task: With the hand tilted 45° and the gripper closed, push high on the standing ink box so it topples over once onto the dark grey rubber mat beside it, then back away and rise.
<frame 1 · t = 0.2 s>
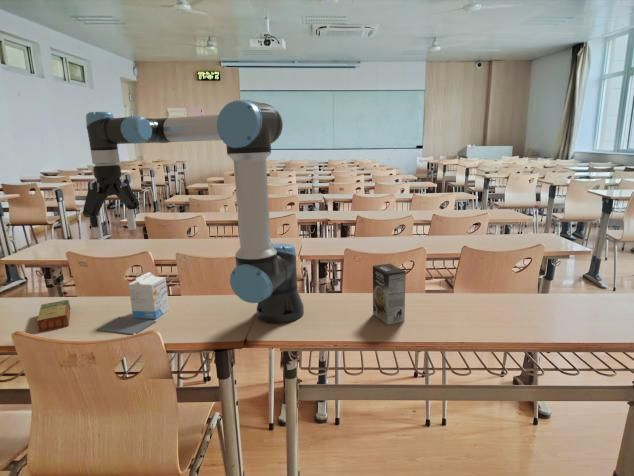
hand: (116, 233, 134), 28 cm above the table, tool pointing down, fingers open, 13 cm apart
ink box: (151, 314, 141), on the table
coffee box: (388, 318, 131), on the table
carton: (55, 321, 138), on the table
rubber mat: (126, 326, 131), on the table
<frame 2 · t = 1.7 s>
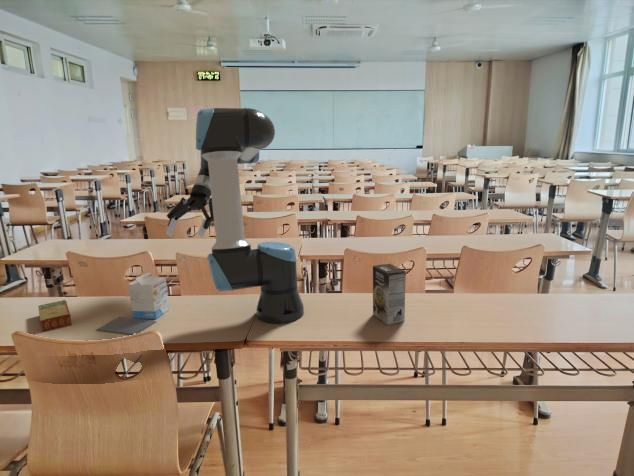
hand: (184, 235, 156), 22 cm above the table, tool tilted 45°, fingers open, 13 cm apart
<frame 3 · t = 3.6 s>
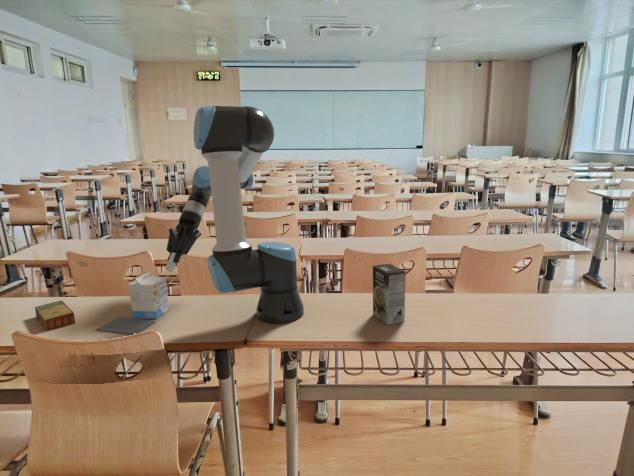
hand: (168, 270, 149), 11 cm above the table, tool tilted 45°, fingers closed
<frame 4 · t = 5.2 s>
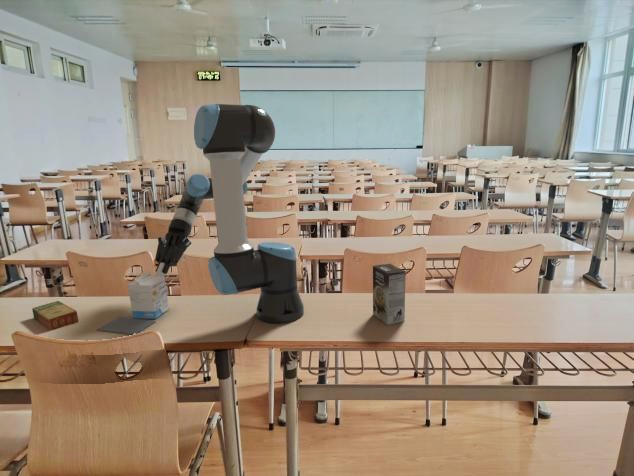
hand: (157, 281, 143), 9 cm above the table, tool tilted 45°, fingers closed
ink box: (151, 313, 141), on the table, touching gripper
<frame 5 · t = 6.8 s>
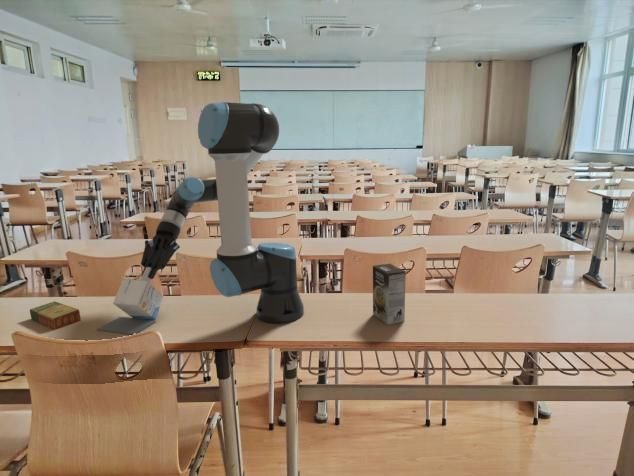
hand: (142, 286, 137), 10 cm above the table, tool tilted 45°, fingers closed
ink box: (148, 307, 139), point 3 cm above the table, touching gripper
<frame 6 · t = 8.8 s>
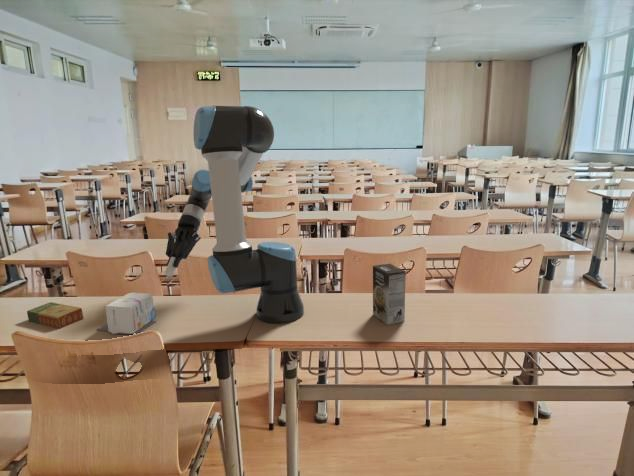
hand: (168, 274, 148), 10 cm above the table, tool tilted 45°, fingers closed
ink box: (142, 304, 136), point 5 cm above the table, touching rubber mat
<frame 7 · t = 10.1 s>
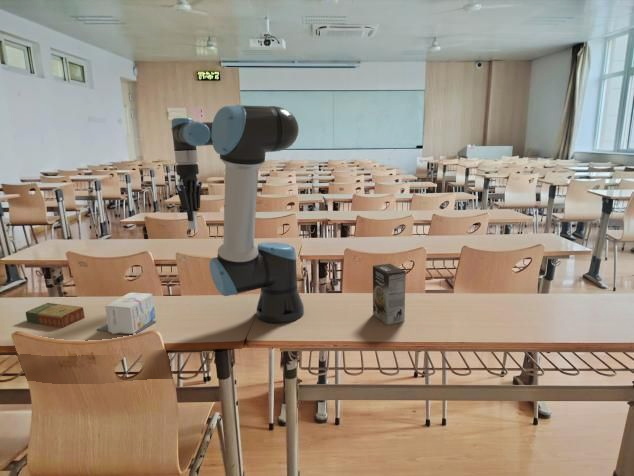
hand: (193, 229, 154), 24 cm above the table, tool pointing down, fingers closed
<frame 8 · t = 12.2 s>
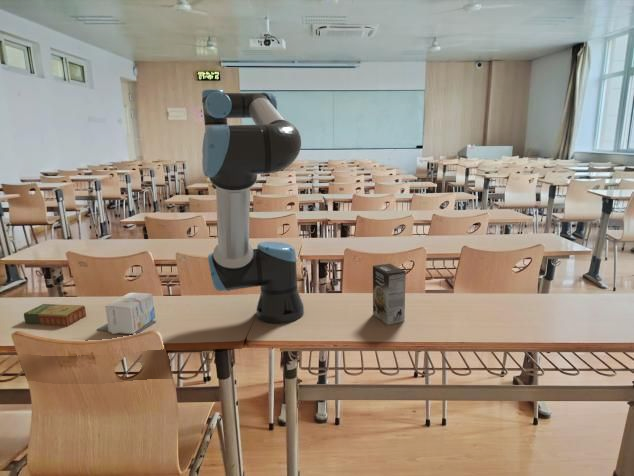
hand: (222, 207, 149), 32 cm above the table, tool pointing down, fingers closed
at the end: ink box tilted 91°; ink box inside the target area (1.6 cm from its centre), point 4.7 cm above the table; the gripper is holding nothing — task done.
